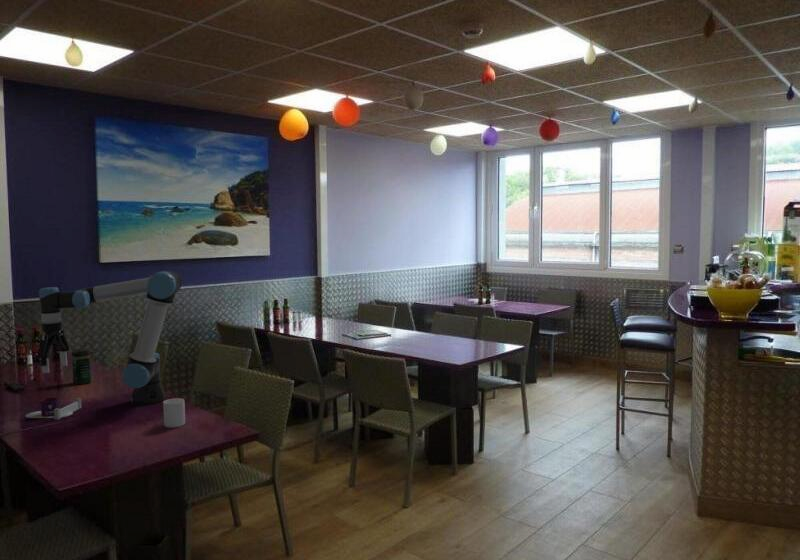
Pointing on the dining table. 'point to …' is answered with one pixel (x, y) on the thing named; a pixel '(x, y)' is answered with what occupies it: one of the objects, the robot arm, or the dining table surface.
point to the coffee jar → (81, 366)
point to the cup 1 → (49, 406)
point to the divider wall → (67, 409)
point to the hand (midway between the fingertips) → (55, 369)
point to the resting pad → (38, 415)
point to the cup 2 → (174, 412)
